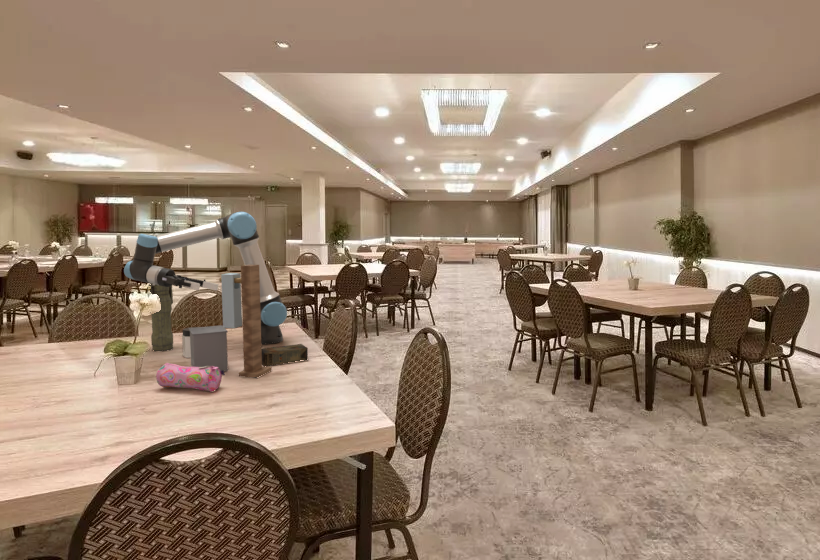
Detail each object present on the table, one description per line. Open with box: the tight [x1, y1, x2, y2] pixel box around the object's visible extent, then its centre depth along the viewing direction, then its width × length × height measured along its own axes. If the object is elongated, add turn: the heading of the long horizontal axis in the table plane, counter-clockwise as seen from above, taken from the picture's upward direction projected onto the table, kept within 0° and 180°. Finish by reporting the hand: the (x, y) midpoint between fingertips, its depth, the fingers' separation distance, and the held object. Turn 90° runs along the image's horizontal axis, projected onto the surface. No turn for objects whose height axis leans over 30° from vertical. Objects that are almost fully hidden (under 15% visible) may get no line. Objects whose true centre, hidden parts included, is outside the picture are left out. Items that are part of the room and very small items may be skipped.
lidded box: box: [188, 324, 229, 372], centre depth 199 cm, size 13×13×16 cm
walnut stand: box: [218, 264, 273, 378], centre depth 193 cm, size 18×10×42 cm, turn 75°
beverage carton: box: [261, 343, 309, 367], centre depth 211 cm, size 8×19×7 cm, turn 122°
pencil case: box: [155, 362, 226, 393], centre depth 175 cm, size 21×9×9 cm, turn 79°
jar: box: [181, 326, 198, 359], centre depth 219 cm, size 9×8×12 cm
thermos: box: [146, 283, 174, 352], centre depth 229 cm, size 9×12×35 cm
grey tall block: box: [220, 272, 243, 329], centre depth 194 cm, size 5×5×21 cm
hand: (208, 287), depth 204 cm, fingers open, 13 cm apart
